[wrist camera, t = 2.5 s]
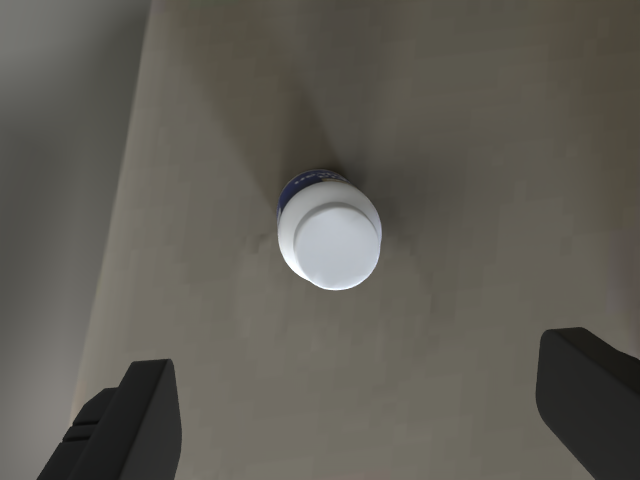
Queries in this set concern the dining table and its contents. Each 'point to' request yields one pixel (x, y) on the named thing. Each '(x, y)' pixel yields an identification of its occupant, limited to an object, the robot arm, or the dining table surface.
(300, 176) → the pill bottle
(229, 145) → the dining table surface
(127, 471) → the robot arm
